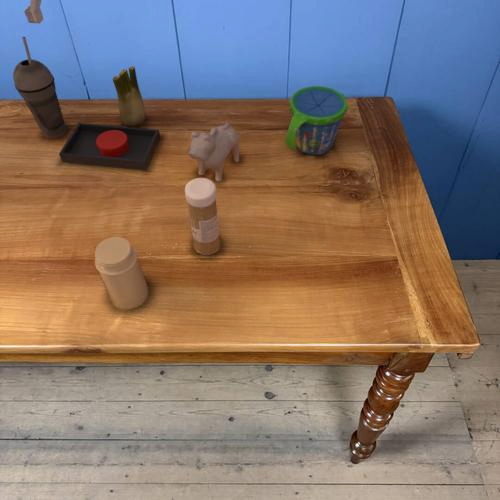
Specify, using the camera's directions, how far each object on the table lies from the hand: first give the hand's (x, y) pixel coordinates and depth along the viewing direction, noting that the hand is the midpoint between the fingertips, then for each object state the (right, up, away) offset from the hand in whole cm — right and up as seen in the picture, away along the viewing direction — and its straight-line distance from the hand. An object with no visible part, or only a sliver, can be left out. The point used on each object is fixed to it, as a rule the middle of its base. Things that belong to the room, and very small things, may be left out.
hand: (5, 19), depth 65 cm
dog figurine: (+29, -18, +23) cm, 41 cm away
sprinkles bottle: (+28, -32, +11) cm, 44 cm away
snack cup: (+48, -12, +28) cm, 57 cm away
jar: (+16, -40, +5) cm, 43 cm away
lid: (+8, -11, +25) cm, 29 cm away
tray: (+7, -13, +27) cm, 31 cm away
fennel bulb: (+10, -6, +33) cm, 35 cm away
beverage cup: (-6, -8, +31) cm, 33 cm away
